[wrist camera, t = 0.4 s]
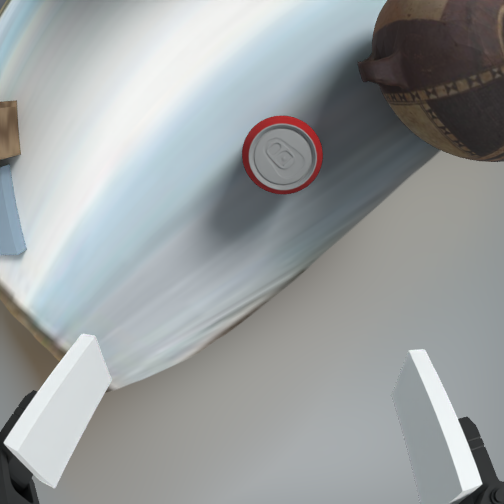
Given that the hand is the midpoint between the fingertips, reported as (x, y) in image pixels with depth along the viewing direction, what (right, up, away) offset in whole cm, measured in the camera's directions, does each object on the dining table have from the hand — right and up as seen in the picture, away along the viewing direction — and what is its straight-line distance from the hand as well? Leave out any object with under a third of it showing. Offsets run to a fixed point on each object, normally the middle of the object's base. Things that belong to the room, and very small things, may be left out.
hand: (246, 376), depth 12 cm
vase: (+22, +27, +17) cm, 38 cm away
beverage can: (+4, +17, +23) cm, 29 cm away
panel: (-43, +13, +29) cm, 53 cm away
